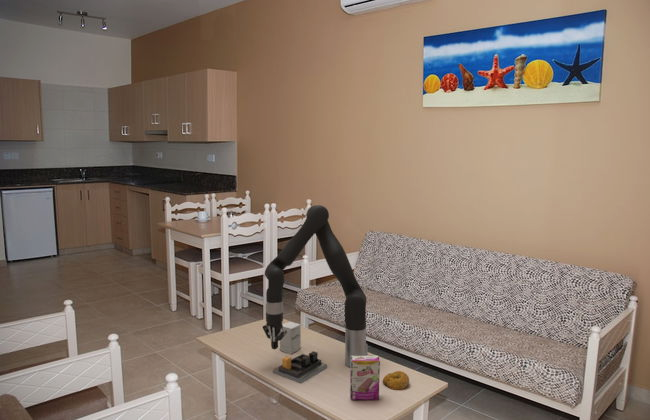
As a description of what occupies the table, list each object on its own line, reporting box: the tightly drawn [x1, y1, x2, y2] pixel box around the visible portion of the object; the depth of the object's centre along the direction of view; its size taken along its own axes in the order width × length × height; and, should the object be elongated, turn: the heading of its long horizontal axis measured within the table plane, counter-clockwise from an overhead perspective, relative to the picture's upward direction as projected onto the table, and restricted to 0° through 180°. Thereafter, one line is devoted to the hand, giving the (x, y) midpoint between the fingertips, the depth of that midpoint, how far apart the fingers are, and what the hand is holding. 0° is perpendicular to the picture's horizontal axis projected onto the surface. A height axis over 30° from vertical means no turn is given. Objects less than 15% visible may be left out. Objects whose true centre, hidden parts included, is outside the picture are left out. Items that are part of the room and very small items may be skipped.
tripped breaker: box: [281, 356, 292, 369], centre depth 214 cm, size 2×3×5 cm
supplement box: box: [279, 321, 302, 355], centre depth 237 cm, size 7×7×13 cm
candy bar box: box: [349, 355, 381, 401], centre depth 192 cm, size 11×5×16 cm, turn 92°
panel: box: [272, 351, 328, 384], centre depth 216 cm, size 16×18×7 cm
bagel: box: [382, 370, 410, 391], centre depth 204 cm, size 10×11×5 cm
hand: (274, 348), depth 217 cm, fingers closed
